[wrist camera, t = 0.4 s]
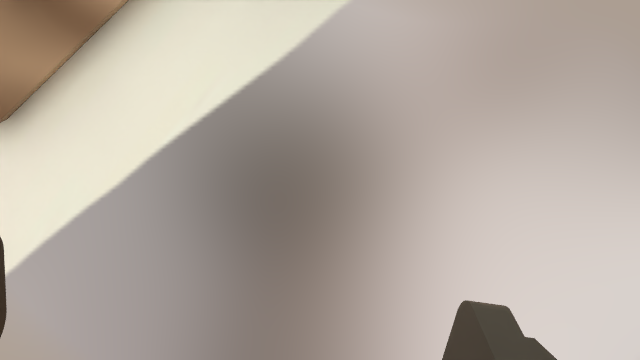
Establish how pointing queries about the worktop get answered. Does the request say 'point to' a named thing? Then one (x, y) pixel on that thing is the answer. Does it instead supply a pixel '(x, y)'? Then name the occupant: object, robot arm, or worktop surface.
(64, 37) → the walnut base
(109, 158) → the worktop surface
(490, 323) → the robot arm
